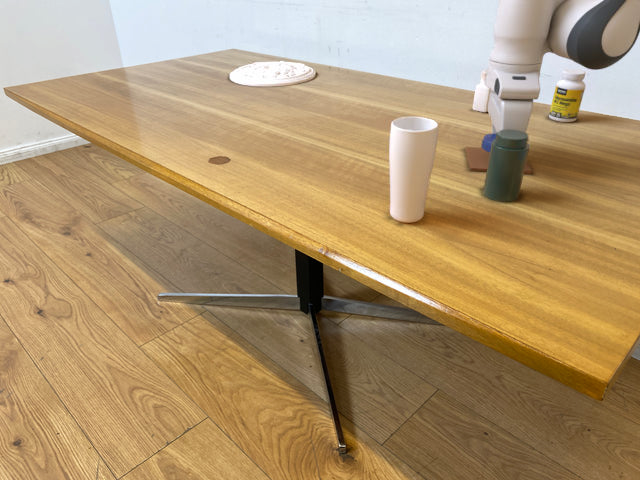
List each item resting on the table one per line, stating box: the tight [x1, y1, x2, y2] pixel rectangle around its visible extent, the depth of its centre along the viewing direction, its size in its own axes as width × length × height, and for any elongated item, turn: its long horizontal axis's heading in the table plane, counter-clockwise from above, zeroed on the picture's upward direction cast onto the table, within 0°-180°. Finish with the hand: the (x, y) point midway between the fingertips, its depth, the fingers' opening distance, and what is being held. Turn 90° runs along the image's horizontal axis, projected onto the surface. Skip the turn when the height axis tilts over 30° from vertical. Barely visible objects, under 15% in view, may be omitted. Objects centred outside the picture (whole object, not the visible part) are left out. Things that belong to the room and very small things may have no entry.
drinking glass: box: [388, 116, 439, 224], centre depth 73 cm, size 7×7×15 cm
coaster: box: [464, 146, 533, 175], centre depth 95 cm, size 11×11×1 cm
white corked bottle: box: [472, 69, 491, 113], centre depth 121 cm, size 4×4×10 cm
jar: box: [482, 129, 531, 203], centre depth 80 cm, size 6×6×11 cm
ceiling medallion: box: [229, 60, 317, 87], centre depth 158 cm, size 28×28×3 cm
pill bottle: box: [548, 68, 586, 123], centre depth 113 cm, size 6×6×11 cm
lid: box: [481, 133, 496, 153], centre depth 93 cm, size 6×6×2 cm
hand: (498, 150), depth 94 cm, fingers closed on lid, 6 cm apart
